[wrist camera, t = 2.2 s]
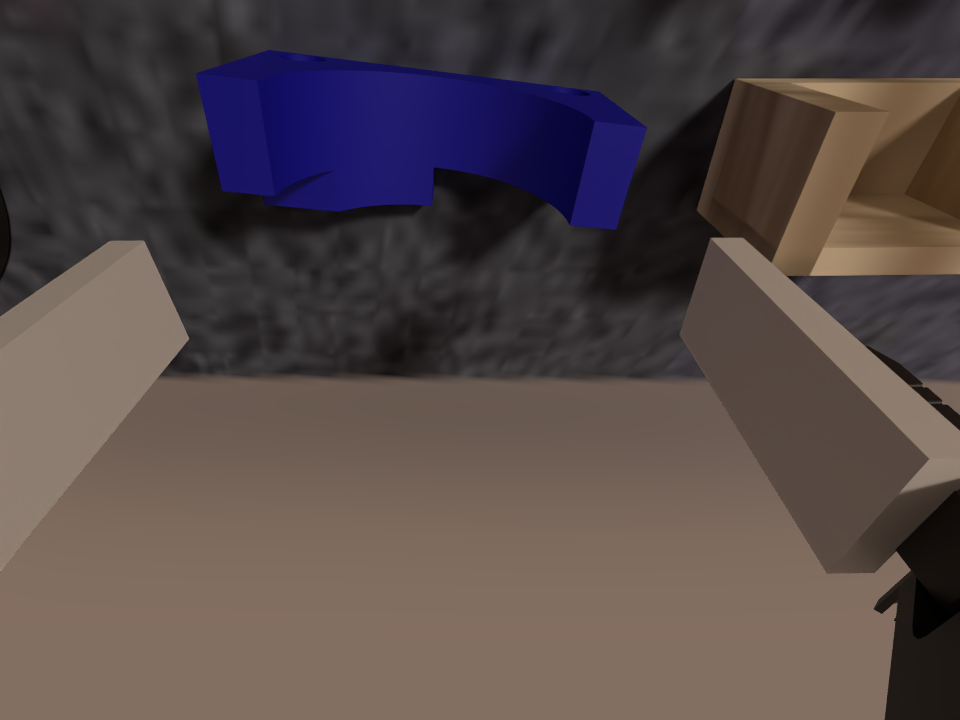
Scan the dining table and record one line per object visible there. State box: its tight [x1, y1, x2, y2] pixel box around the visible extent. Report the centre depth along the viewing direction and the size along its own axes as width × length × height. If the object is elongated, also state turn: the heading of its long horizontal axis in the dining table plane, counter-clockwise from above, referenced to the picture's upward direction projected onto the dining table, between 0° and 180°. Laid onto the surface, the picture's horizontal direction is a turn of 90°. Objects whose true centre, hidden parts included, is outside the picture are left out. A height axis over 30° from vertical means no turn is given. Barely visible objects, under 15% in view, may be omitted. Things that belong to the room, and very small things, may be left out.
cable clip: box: [196, 50, 647, 230], centre depth 16 cm, size 12×4×6 cm, turn 84°
